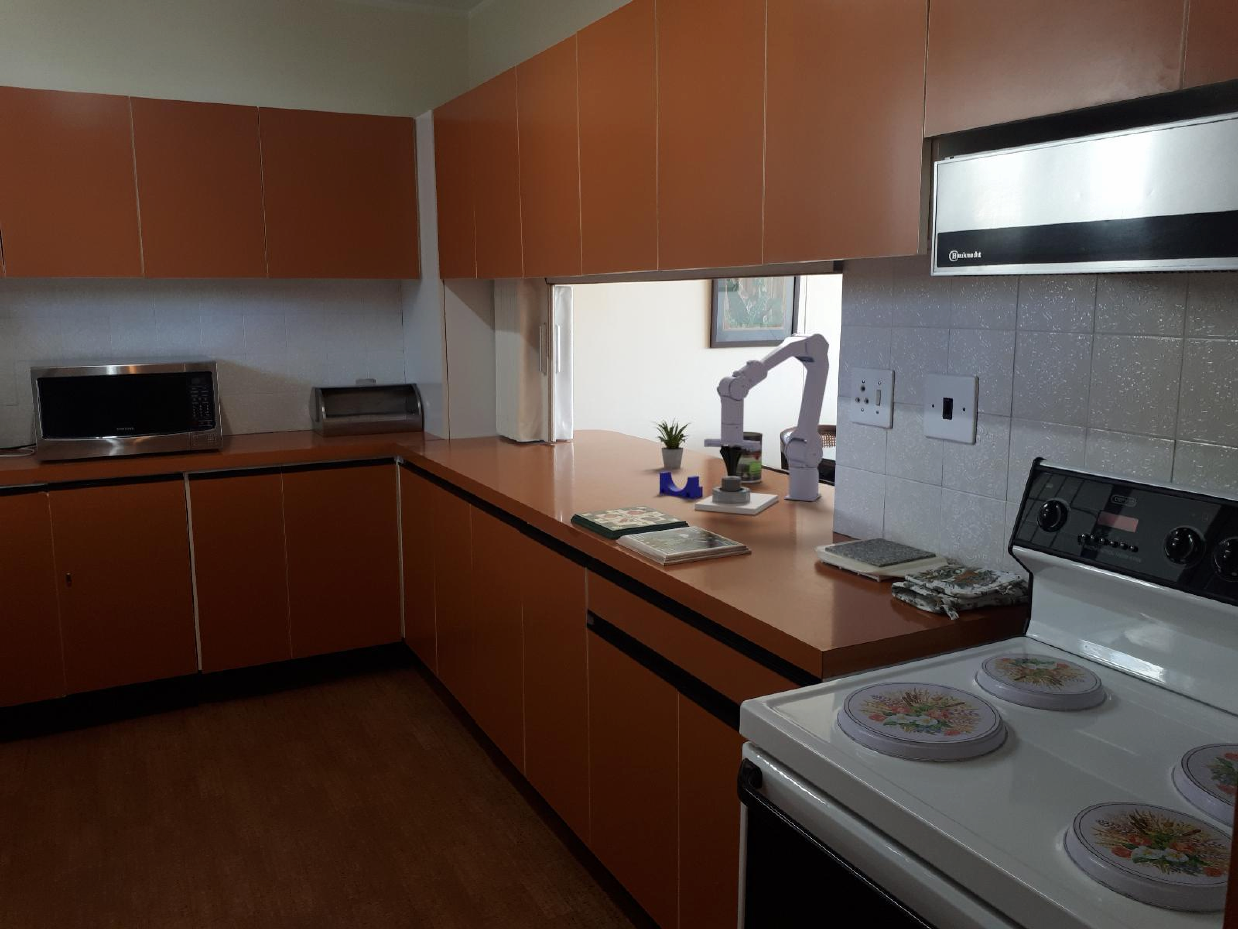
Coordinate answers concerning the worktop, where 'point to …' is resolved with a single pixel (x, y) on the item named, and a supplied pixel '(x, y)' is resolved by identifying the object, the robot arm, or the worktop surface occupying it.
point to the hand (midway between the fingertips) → (731, 475)
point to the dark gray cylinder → (731, 483)
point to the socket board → (739, 508)
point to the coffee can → (750, 460)
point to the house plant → (672, 445)
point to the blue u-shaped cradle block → (688, 491)
